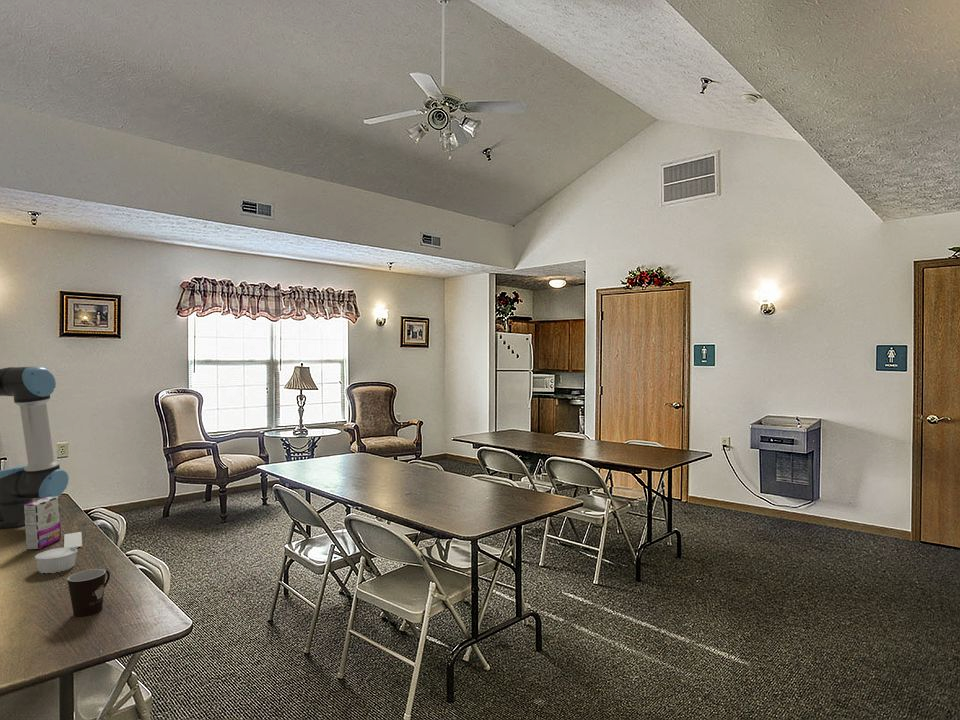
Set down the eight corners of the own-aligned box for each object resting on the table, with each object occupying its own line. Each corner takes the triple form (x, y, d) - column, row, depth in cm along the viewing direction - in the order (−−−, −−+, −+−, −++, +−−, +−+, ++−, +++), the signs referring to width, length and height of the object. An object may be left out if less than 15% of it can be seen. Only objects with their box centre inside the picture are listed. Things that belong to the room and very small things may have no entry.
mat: (64, 536, 224) (64, 534, 224) (81, 533, 228) (81, 531, 228) (63, 550, 208) (63, 548, 208) (82, 547, 211) (82, 545, 211)
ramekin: (81, 568, 191) (81, 552, 191) (39, 578, 183) (38, 561, 183) (73, 560, 199) (72, 544, 198) (32, 569, 190) (31, 553, 190)
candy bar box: (48, 540, 220) (46, 496, 220) (61, 539, 220) (60, 496, 220) (24, 550, 209) (23, 504, 209) (38, 550, 209) (36, 504, 208)
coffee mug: (78, 622, 152) (76, 583, 152) (62, 614, 157) (61, 577, 157) (124, 604, 162) (123, 569, 162) (108, 598, 167) (107, 563, 167)
